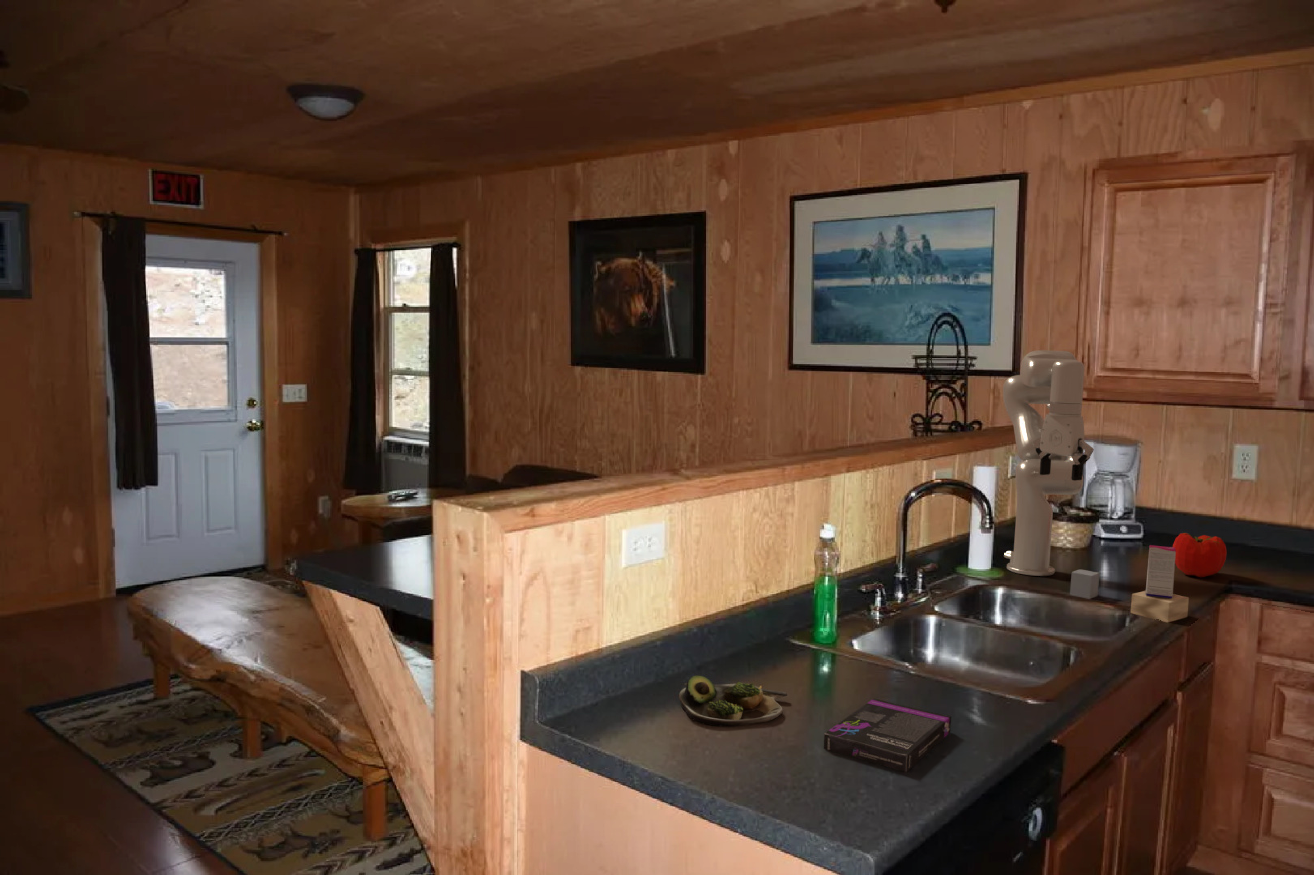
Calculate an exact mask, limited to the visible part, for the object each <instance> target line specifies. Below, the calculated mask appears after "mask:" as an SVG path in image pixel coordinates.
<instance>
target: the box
mask: <svg viewBox="0 0 1314 875" xmlns="http://www.w3.org/2000/svg"><path fill="white" fill-rule="evenodd" d="M951 726H952V716H951V715H947V714H942V713H939V712H934V711H929V710H924V709H920V708H916V707H911V706H907V705H902V704H897V703H893V702H889V701H886V700H881V699H877V698H872V699H871V700H870V701H868V702H867V703H865V704H864V705H863V706H861V707H860V708H858V709H857V710H855V711H854V712H852V713H851V714H850V715H848V716H847V717H845V718H844V719H842V720H840V722H838V723H837V724H835V726H833V727H832V728H830V729H828V730H827V731H826V732H824V733H823V749H824V750H827V751H831V752H834V753H838V754H842V755H845V756H849V757H852V758H856V759H858V760H862V761H866V762H870V763H872V764H876V765H880V766H883V767H886V768H890V769H893V770H895V771H896V770H897V771H900V772H903V773H907V772H908V771H909V770H911V769H912V768H913V767H914V766H915V765H917V763H919V761H921V760H922V759H923V758H924V757H925V756H926V755H927V754H928V753H930V751H932V750H933V749H934V748H935V747H937V745H938V744H940V742H942V740H944V739H945V738H946V737H947V736H948V735H949V734H950V733H951Z"/></svg>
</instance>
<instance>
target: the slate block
mask: <svg viewBox="0 0 1314 875" xmlns="http://www.w3.org/2000/svg"><path fill="white" fill-rule="evenodd" d="M1070 575H1071V576H1070V578H1071V579H1070V588H1069V589H1070V590H1069V595H1070V596H1073V597H1079V598H1083V599H1086V600H1087V599H1088V600H1091V599H1092V598H1093V599H1094V598H1096V597H1098V596H1099V583H1100V572H1098V571H1097V572H1096V571H1091V570H1086V569H1082V568H1081V569H1077V570H1074V571H1071V574H1070Z"/></svg>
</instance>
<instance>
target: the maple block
mask: <svg viewBox="0 0 1314 875" xmlns="http://www.w3.org/2000/svg"><path fill="white" fill-rule="evenodd" d="M1189 601H1190V598H1189V597H1188V596H1182V595H1179V594H1175V593H1173V596H1172V598H1161V597H1151V596H1146V590H1143V591H1140V592H1134V593H1132V594H1131V601H1130V602H1131V605H1130V614H1134V615H1137V616H1141V617H1145V618H1149V619H1152V620H1156V619H1159V620H1158V621H1160V620H1161V621H1160V622H1164V623H1171V622H1174V621H1177V620H1182V619H1185V618H1187V617H1188V613H1189V612H1188V611H1189Z"/></svg>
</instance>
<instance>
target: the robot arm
mask: <svg viewBox="0 0 1314 875" xmlns="http://www.w3.org/2000/svg"><path fill="white" fill-rule="evenodd" d="M1020 364H1021V366H1020V374H1018V375H1017V374H1016V375H1012V376H1010V377H1008V378H1007V379H1006V380H1005V381H1004V383H1003V386H1002V398H1003V399H1002V401H1003V405H1004V408H1005V410H1006V413H1007V415H1008V417H1009V419H1010V421H1011V423H1012V425H1013V432H1014V438H1015V445H1016V449H1017V450H1016V451H1017V455H1018V458H1019V459H1020V460H1021V461H1020V462H1019V463H1018V464H1017V465H1016V468H1015V472H1014V473H1015V487H1016V510H1015V511H1016V512H1015V514H1016V516H1015V530H1014V541H1013V542H1014V543H1013V550H1007V551H1006V552H1004V555H1003V557H1004V558H1006V559H1009V562H1008V563H1007V564H1006V569H1007V570H1008V571H1010V572H1012V573H1016V574H1021V575H1026V576H1034V577H1035V576H1036V577H1037V576H1038V577H1039V576H1040V577H1047V576H1052V575H1055V572H1056V570H1055V568H1054V567H1052V566H1050V557H1051V543H1052V542H1051V541H1052V530H1053V514H1054V513H1053V508H1052V505H1051V504H1050V503H1049V501H1047V499H1046V498H1045V495H1061V496H1062V495H1063V496H1071V495H1072V496H1073V495H1076V494H1077V495H1078V494H1079V493H1080V492H1081V491H1082V489H1083V485H1084V473H1083V472H1084V465H1087V464H1086V463H1087V462H1088V461H1089V460H1090V458H1091V456H1092V454H1093V453H1094V450H1095V449H1094V448H1093V447H1092V446H1091V445H1089V443H1087V442H1086V441H1085V423H1084V422H1085V421H1084V417H1083V416H1082V408H1083V395H1084V394H1083V393H1084V380H1085V364H1084V363H1083V362H1082V361H1079V360H1077V358H1076V356H1075V355H1074V354H1073V353H1072V352H1070V351H1068V350H1067V351H1066V350H1044V349H1043V350H1042V349H1038V350H1033V351H1030V352H1028V353H1027V354H1025V355H1024V356H1023V358H1022V360H1021V363H1020ZM1031 405H1046V408H1047V409H1048V410H1049V411H1048V413H1046V414H1045V417H1043V416H1042V415H1041V414H1040V413H1039V412H1038V410H1036V409H1035V408H1034V407H1033V406H1031Z"/></svg>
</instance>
